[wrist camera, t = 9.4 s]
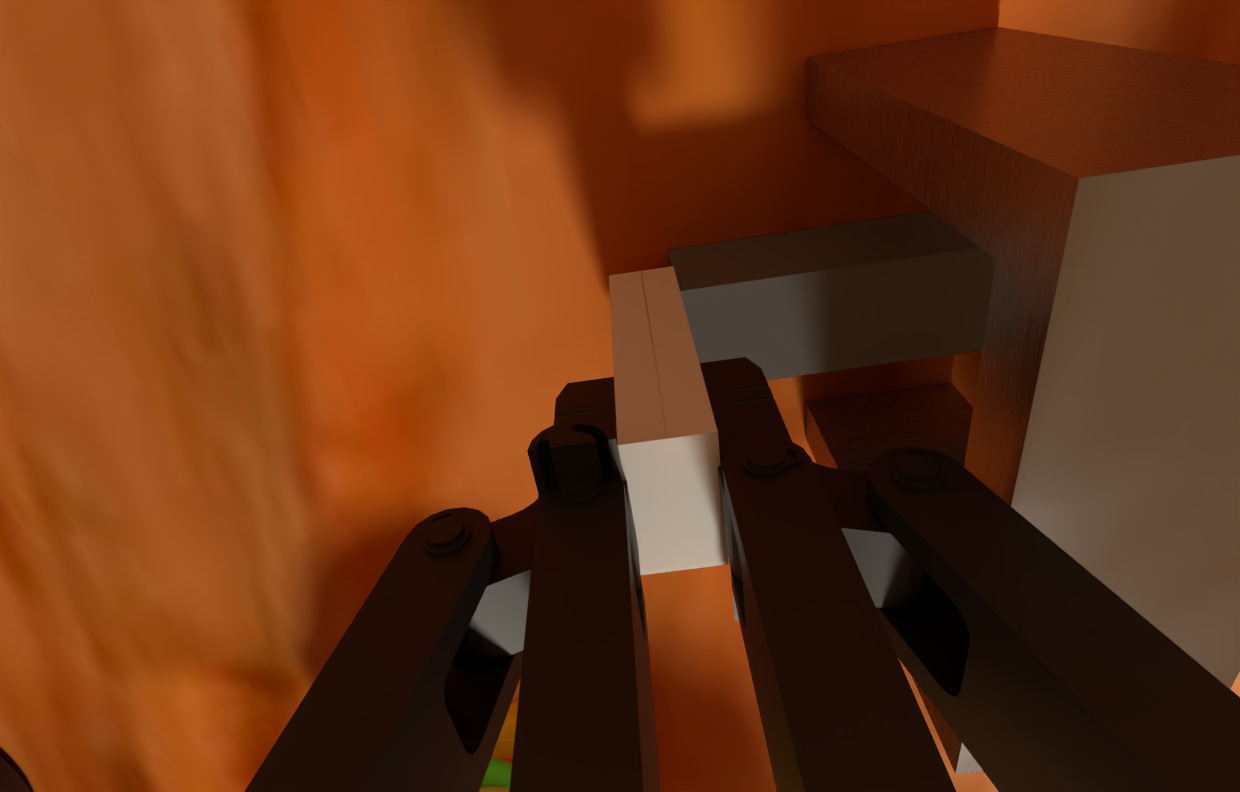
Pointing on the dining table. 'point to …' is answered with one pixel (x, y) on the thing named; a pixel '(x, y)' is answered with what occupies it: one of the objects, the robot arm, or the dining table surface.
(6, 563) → the dining table surface
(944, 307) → the beige and grey hammer
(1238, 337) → the grey slab
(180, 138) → the dining table surface
